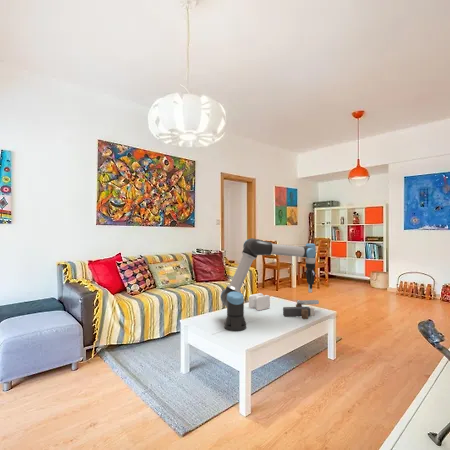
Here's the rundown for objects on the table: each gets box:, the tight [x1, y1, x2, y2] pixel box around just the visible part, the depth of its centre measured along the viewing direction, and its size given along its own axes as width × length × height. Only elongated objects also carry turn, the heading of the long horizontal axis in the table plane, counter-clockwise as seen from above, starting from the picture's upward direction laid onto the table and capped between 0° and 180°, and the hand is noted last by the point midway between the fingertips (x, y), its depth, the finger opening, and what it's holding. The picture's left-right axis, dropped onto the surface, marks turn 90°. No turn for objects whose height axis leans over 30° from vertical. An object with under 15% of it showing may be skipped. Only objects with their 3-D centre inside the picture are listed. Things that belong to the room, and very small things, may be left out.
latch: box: [296, 299, 320, 306], centre depth 230 cm, size 3×18×3 cm, turn 94°
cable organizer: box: [248, 292, 271, 311], centre depth 241 cm, size 15×11×12 cm
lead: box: [282, 306, 315, 318], centre depth 222 cm, size 23×5×6 cm, turn 93°
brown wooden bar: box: [295, 303, 309, 320], centre depth 222 cm, size 4×17×6 cm, turn 3°
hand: (310, 292), depth 228 cm, fingers closed
